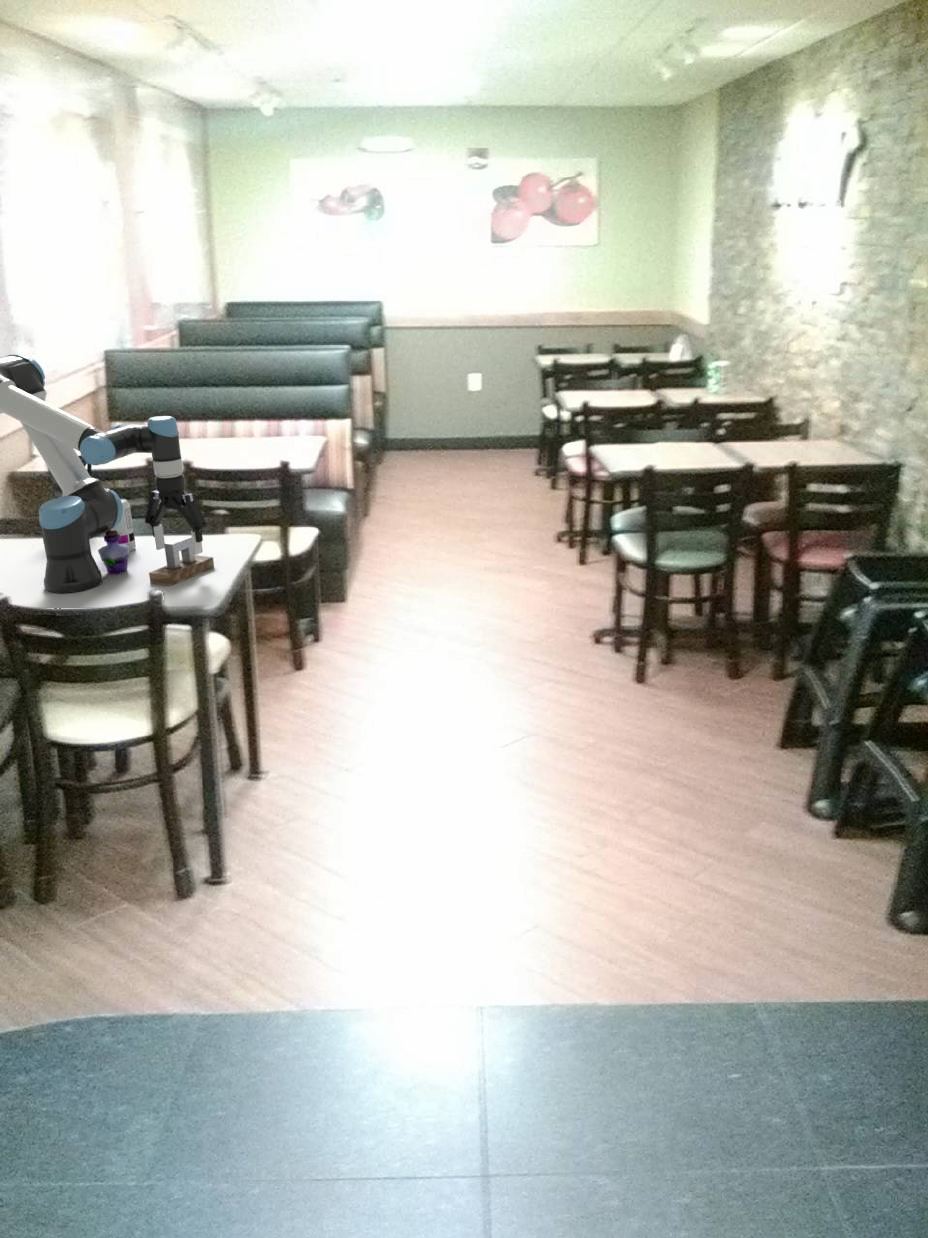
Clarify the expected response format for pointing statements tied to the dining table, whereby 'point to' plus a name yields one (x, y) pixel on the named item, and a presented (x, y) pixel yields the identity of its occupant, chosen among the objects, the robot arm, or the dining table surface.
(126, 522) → the supplement can
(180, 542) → the clip
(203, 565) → the wooden socket base
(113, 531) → the potion bottle
